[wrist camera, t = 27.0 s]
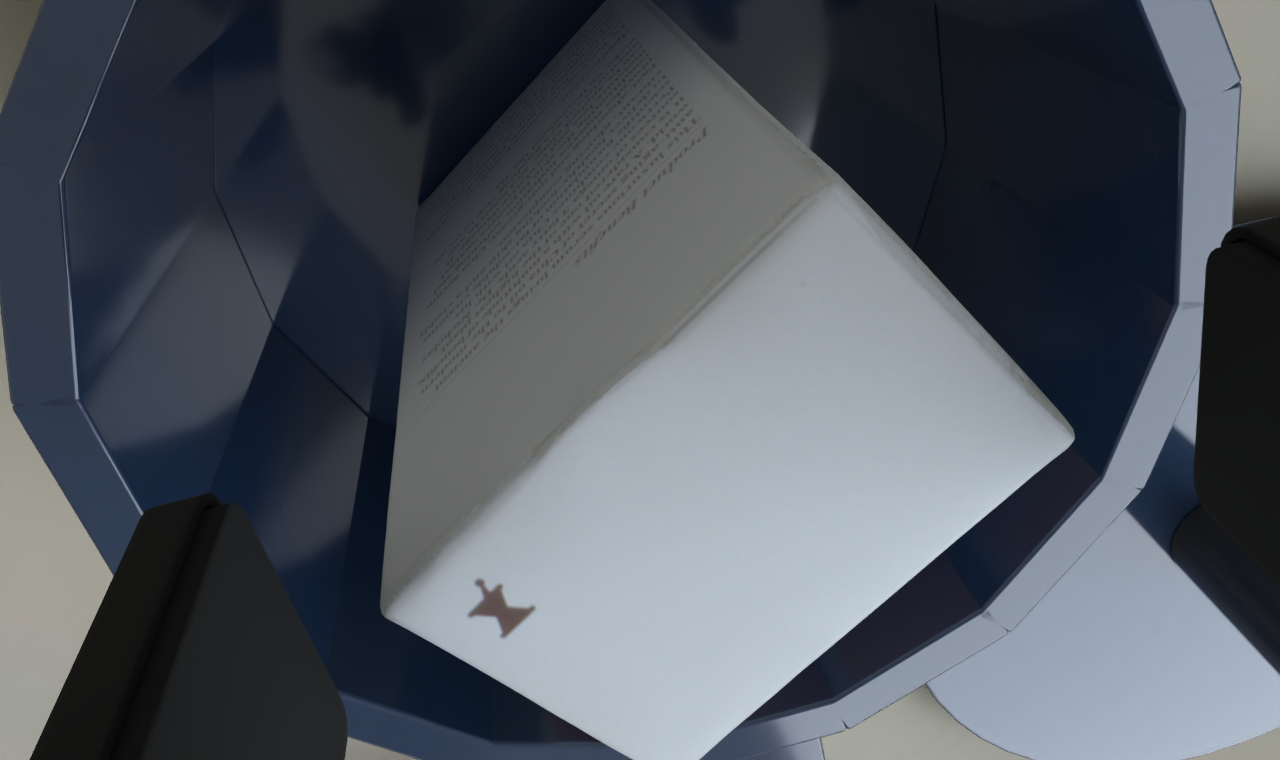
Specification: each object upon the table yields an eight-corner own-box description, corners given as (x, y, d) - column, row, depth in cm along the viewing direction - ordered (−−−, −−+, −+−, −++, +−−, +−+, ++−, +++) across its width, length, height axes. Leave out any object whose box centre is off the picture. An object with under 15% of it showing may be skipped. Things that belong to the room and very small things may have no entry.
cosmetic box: (572, 338, 22) (664, 802, 12) (411, 208, 21) (353, 621, 10) (784, 126, 21) (1100, 446, 10) (629, -35, 19) (825, 157, 9)
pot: (924, -625, 16) (1313, -990, 9) (997, 480, 26) (1203, 743, 19) (-81, -373, 16) (-560, -528, 8) (386, 645, 26) (355, 976, 19)
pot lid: (1561, 121, 24) (1887, 216, 18) (1447, 654, 32) (1650, 829, 27) (849, 312, 24) (964, 465, 18) (916, 800, 32) (1009, 1008, 26)
